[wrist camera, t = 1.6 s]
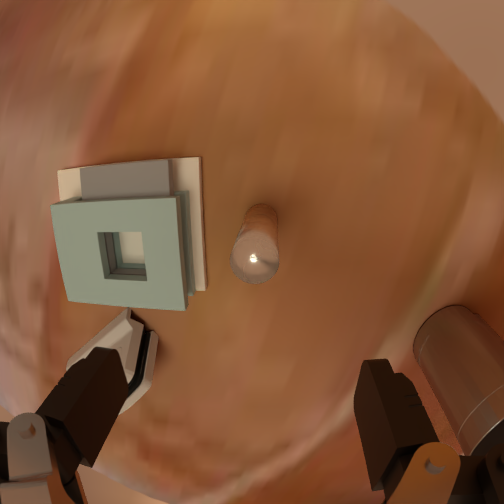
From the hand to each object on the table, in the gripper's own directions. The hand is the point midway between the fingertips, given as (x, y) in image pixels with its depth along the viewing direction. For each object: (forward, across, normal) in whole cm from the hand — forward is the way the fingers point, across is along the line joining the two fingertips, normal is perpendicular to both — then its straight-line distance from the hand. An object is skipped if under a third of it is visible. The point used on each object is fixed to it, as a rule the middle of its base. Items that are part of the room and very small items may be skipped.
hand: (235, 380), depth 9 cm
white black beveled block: (+22, +19, +18) cm, 34 cm away
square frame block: (+22, +13, 0) cm, 25 cm away
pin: (+22, 0, 0) cm, 22 cm away
